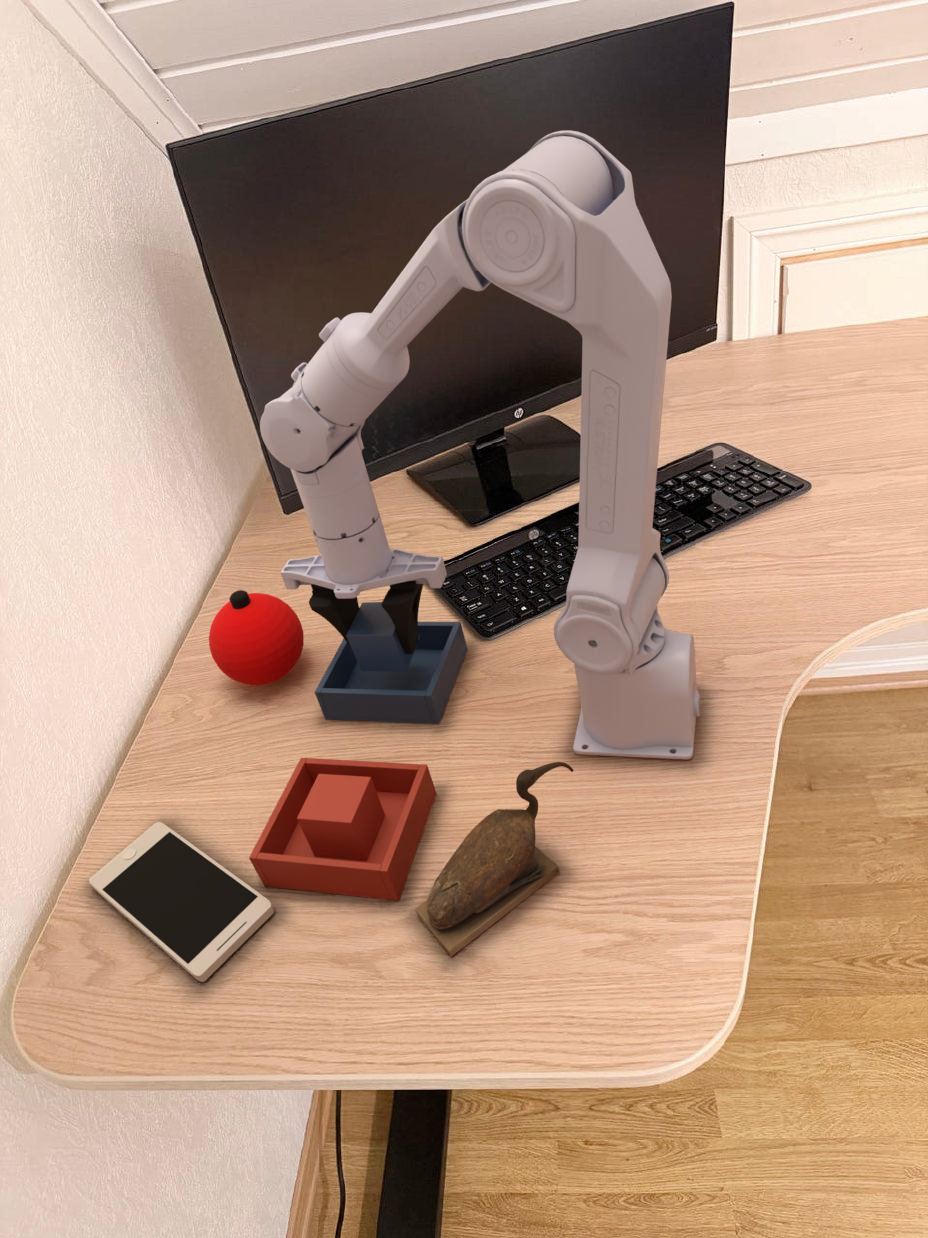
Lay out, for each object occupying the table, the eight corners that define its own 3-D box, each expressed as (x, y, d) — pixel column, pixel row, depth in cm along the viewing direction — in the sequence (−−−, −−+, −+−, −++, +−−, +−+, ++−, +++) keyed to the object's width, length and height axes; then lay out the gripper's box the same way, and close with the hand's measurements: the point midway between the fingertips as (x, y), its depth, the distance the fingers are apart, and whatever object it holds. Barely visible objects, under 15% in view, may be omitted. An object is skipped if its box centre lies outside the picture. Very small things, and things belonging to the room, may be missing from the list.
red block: (385, 814, 73) (371, 776, 70) (367, 861, 69) (351, 822, 67) (334, 811, 74) (318, 773, 71) (314, 856, 71) (296, 818, 68)
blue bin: (467, 649, 88) (460, 621, 86) (439, 724, 80) (430, 695, 78) (362, 648, 92) (352, 621, 89) (325, 720, 84) (314, 692, 82)
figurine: (563, 807, 70) (547, 727, 65) (603, 840, 67) (589, 758, 62) (415, 916, 65) (385, 839, 60) (451, 958, 62) (423, 880, 57)
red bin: (436, 793, 74) (427, 764, 72) (398, 901, 66) (387, 871, 64) (313, 785, 78) (300, 757, 75) (263, 886, 70) (248, 857, 68)
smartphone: (162, 826, 77) (158, 818, 77) (277, 910, 68) (273, 902, 67) (90, 887, 73) (85, 880, 73) (202, 985, 64) (197, 977, 63)
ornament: (219, 668, 94) (182, 591, 88) (300, 633, 96) (270, 555, 90) (239, 718, 87) (201, 637, 81) (326, 679, 89) (295, 597, 83)
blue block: (420, 637, 85) (407, 601, 82) (406, 671, 82) (392, 635, 79) (376, 638, 86) (361, 602, 84) (361, 671, 83) (345, 635, 80)
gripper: (248, 550, 74) (298, 674, 83) (413, 546, 70) (449, 677, 78) (282, 504, 80) (326, 625, 88) (438, 497, 75) (469, 625, 83)
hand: (386, 646), depth 83 cm, fingers closed on blue block, 4 cm apart
